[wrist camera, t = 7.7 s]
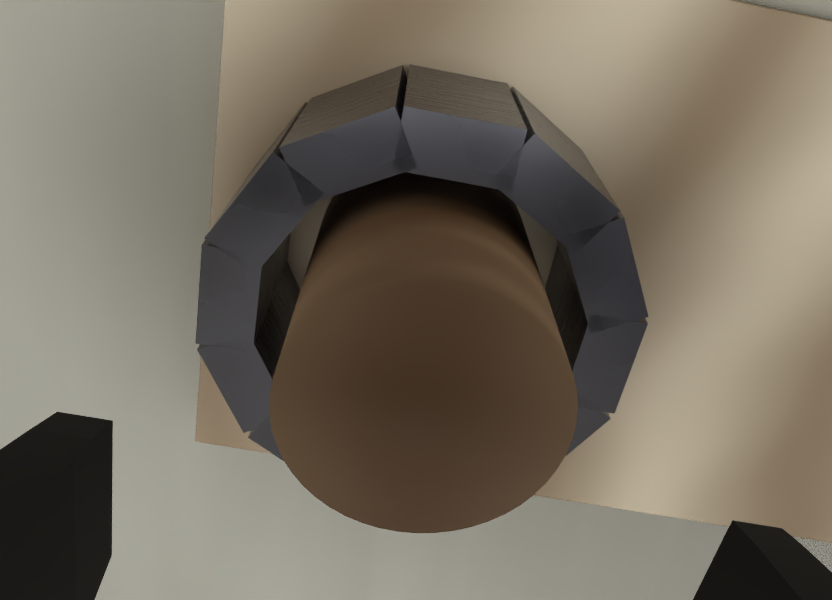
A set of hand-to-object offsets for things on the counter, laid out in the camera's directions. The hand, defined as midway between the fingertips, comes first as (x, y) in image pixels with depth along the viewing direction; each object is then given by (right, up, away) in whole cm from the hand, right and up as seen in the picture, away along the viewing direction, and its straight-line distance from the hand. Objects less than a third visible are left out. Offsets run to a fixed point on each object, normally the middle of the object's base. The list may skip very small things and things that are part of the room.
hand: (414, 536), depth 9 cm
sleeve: (0, +4, +8) cm, 9 cm away
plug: (0, +4, +7) cm, 8 cm away
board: (+5, +3, +9) cm, 10 cm away
